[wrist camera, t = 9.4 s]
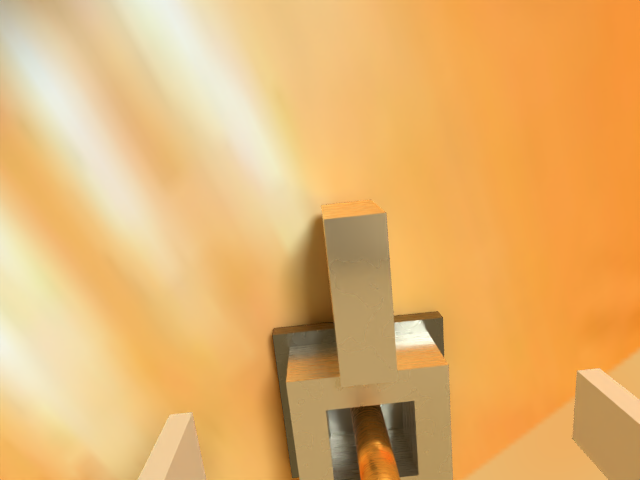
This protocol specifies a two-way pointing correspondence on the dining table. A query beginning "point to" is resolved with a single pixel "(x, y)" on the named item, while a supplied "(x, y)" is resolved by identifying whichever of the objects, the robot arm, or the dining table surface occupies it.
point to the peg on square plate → (360, 421)
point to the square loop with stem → (367, 361)
